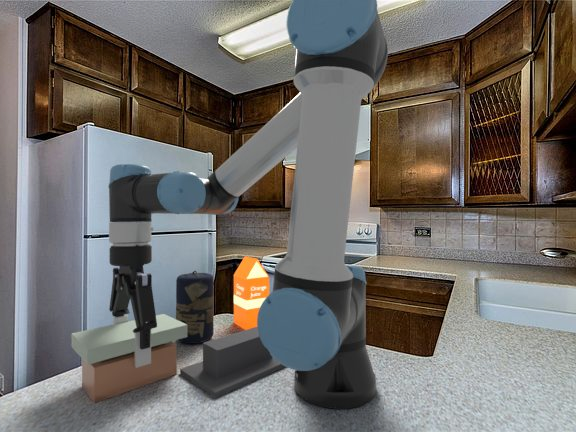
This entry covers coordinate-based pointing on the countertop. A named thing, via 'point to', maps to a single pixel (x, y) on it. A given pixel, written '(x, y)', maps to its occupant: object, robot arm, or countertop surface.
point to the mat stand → (231, 363)
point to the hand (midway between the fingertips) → (131, 355)
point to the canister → (195, 305)
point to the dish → (127, 372)
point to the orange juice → (249, 292)
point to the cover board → (123, 338)
